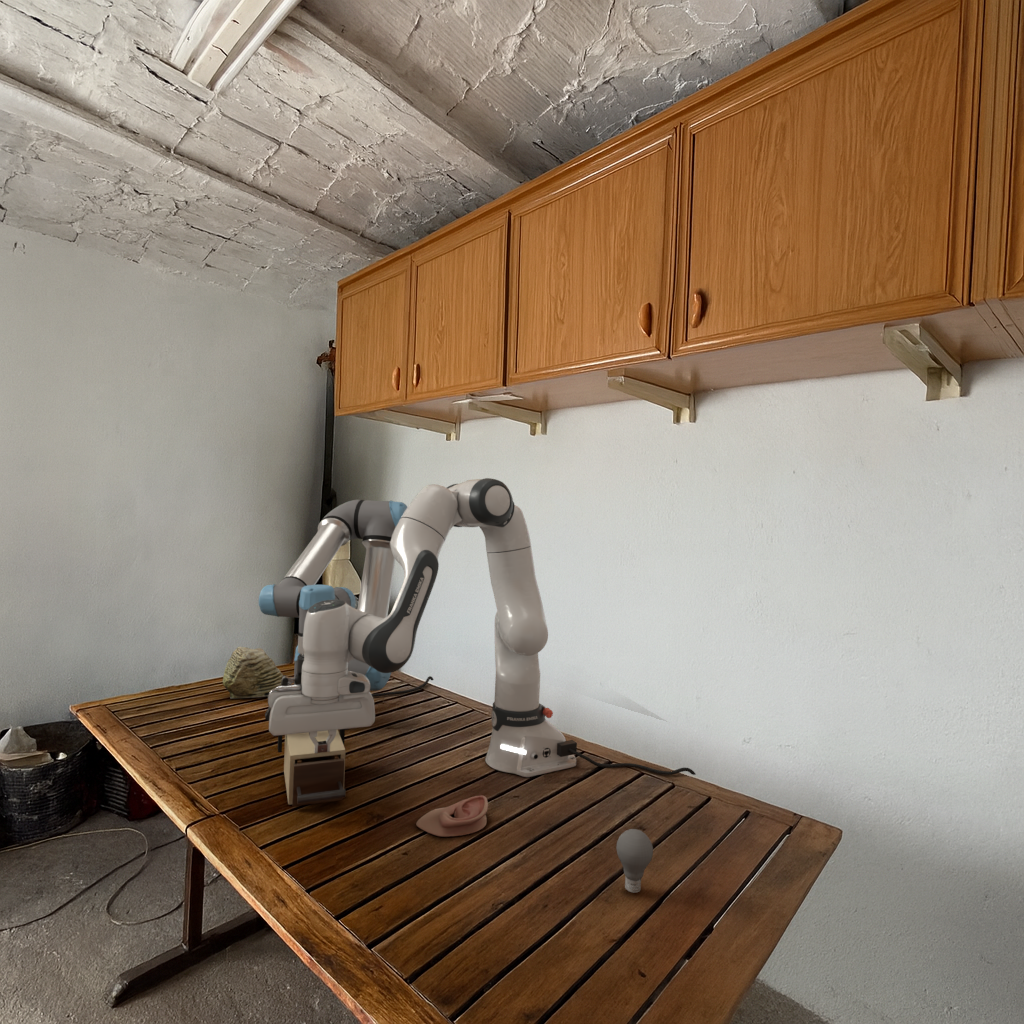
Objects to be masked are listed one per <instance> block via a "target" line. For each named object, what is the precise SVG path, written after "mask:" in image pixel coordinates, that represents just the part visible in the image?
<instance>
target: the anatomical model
mask: <svg viewBox="0 0 1024 1024" xmlns="http://www.w3.org/2000/svg"><path fill="white" fill-rule="evenodd" d="M488 810H489V801H488V799H487V797H486V796H484V795H475V796H472V797H468V798H464V799H462V800H460V801H458V802H456V803H453V804H451V805H448V806H446V807H439V808H435V809H432V810H430V811H428V812H427V813H425V814H423V816H421V817H419V819H418V820H417V821H416V823H415V824H416V827H418V828H419V829H420V830H422V831H424V832H425V833H428V834H430V835H433V836H437V837H439V838H441V837H442V838H443V837H444V838H448V837H458V836H465V835H469V834H474V833H476V832H479V831H480V830H481V831H482V830H483V829H484V828H485V827H486V825H487V822H488V821H487V819H488V818H487V815H486V814H487V812H488Z"/></svg>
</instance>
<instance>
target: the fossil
mask: <svg viewBox="0 0 1024 1024" xmlns="http://www.w3.org/2000/svg"><path fill="white" fill-rule="evenodd" d="M222 676H223V677H222V685H223V687H224V688H225V690H226V691H228V693H229V698H230V699H250V698H264V697H268V695H269V693H270V691H272V690H273V689H275V688H277V686H281V681H282V677H283V676H284V674H283V673H282V672H281V669H279V668H278V667H277V665H276V663H275V662H274V660H273V659H272V658H271V657H270V656H269V655H268V654H267V653H266V652H265V650H264V649H263V648H260V647H258V648H251V647H247V646H246V647H245V646H238V647H237V648H236V649H235V650H233V651H232V653H231V656H230V657H229V659H228V660H227V663H226V666H225V668H224V671H223V675H222ZM275 691H277V690H275ZM275 691H274V692H275Z"/></svg>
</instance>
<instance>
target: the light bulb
mask: <svg viewBox="0 0 1024 1024" xmlns="http://www.w3.org/2000/svg"><path fill="white" fill-rule="evenodd" d="M615 849H616V854H617V857H618V859H619V861H620V863H621V865H622V867H623V873H624V874H623V875H624V876H625V878H624V888H625V890H627V891H628V892H630V893H634V894H635V893H639V892H640V891H641V889H642V887H641V886H642V879H643V877H644V875H645V871H646V868H647V867H648V866H649V864H650V863H651V861H652V859H653V855H654V847H653V843H652V841H651V838H649V836H648V835H647V834H646V833H645V832H643V831H642V830H641V829H636V828H629V829H627V830H625V831H623V832H622V833H621V834H620V835H619V837H618V839H617V841H616V847H615Z"/></svg>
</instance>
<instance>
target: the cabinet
mask: <svg viewBox="0 0 1024 1024" xmlns="http://www.w3.org/2000/svg"><path fill="white" fill-rule="evenodd" d="M328 736H329V733H328V731H318V732H317V737H315V738H316V740H317V741H326V739H327V738H328ZM331 755H338V757H339V759H342V758H344V777H345V771H346V748H345V744H344V745H343V742H342V739H341V737H340V730H339V729H338V730H336V736H335V738H334V739H333V741H332V742H331V743H330V752H323V753H314V744H313V742H312V740H311V739H310V736H309V732H308V733H298V734H288V735H284V755H283V756H284V758H283V759H284V760H283V761H284V762H283V774H284V775H283V776H284V782H285V790H286V791H285V792H286V796H287V805H289V806H290V805H292V798H293V772H294V764H295V760H296V759H304V758H313V757H322V756H331ZM343 789H345V786H344V787H343Z"/></svg>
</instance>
